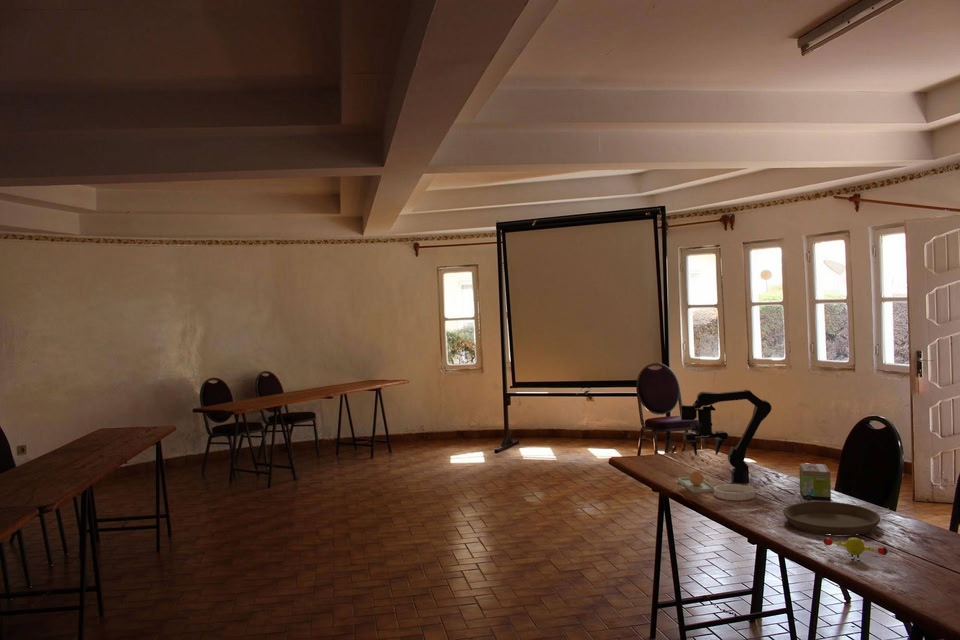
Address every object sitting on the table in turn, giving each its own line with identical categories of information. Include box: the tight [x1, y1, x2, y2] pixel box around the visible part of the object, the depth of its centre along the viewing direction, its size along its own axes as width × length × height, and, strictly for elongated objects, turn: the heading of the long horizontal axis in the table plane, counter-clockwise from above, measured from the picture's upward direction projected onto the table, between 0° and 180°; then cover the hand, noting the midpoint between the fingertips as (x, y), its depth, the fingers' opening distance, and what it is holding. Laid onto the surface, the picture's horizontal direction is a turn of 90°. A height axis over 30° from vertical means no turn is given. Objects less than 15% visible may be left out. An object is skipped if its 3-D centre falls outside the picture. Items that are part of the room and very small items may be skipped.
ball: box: [688, 471, 705, 486], centre depth 317 cm, size 6×6×6 cm
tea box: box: [798, 463, 832, 503], centre depth 283 cm, size 15×10×15 cm
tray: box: [677, 476, 715, 494], centre depth 317 cm, size 10×22×2 cm, turn 1°
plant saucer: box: [782, 501, 881, 535], centre depth 257 cm, size 31×31×5 cm
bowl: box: [713, 483, 756, 501], centre depth 299 cm, size 16×16×4 cm
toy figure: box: [823, 536, 889, 559], centre depth 222 cm, size 18×6×7 cm, turn 48°
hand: (706, 455), depth 324 cm, fingers open, 9 cm apart
